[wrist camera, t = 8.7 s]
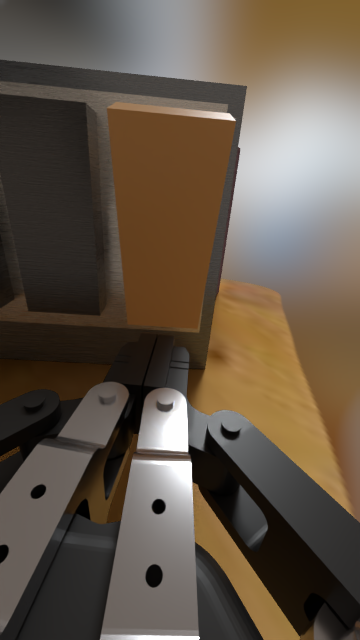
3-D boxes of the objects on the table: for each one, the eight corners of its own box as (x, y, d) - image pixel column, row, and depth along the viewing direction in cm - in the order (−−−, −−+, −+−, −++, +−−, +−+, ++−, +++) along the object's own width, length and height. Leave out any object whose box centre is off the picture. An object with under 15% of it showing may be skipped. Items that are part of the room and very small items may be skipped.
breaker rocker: (127, 324, 18) (106, 107, 10) (133, 298, 20) (119, 99, 12) (197, 328, 19) (236, 120, 10) (196, 303, 21) (227, 110, 12)
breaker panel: (-68, 373, 20) (-225, 14, 12) (-3, 324, 28) (-67, 84, 19) (208, 387, 21) (259, 68, 13) (199, 336, 29) (227, 114, 20)
